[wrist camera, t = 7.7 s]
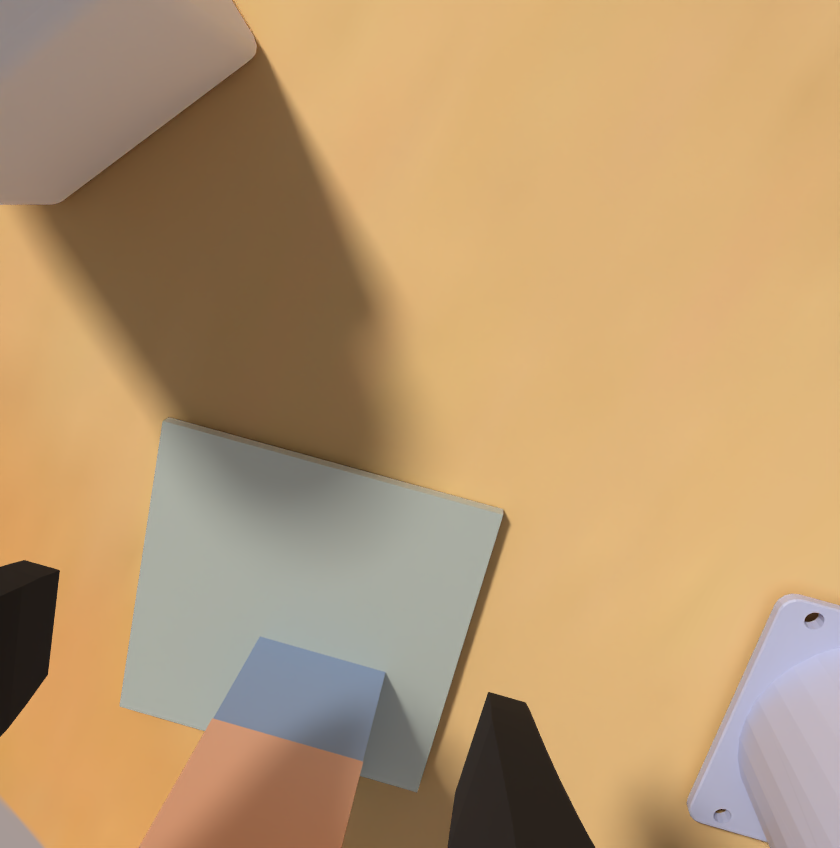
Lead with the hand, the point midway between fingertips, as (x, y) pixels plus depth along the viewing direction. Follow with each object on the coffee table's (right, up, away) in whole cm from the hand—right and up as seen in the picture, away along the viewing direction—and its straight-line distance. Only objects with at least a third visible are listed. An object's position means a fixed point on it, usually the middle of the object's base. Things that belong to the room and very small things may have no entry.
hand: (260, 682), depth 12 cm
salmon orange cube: (-1, -6, +8) cm, 10 cm away
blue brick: (-1, -5, +11) cm, 12 cm away
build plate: (-1, -2, +11) cm, 11 cm away
